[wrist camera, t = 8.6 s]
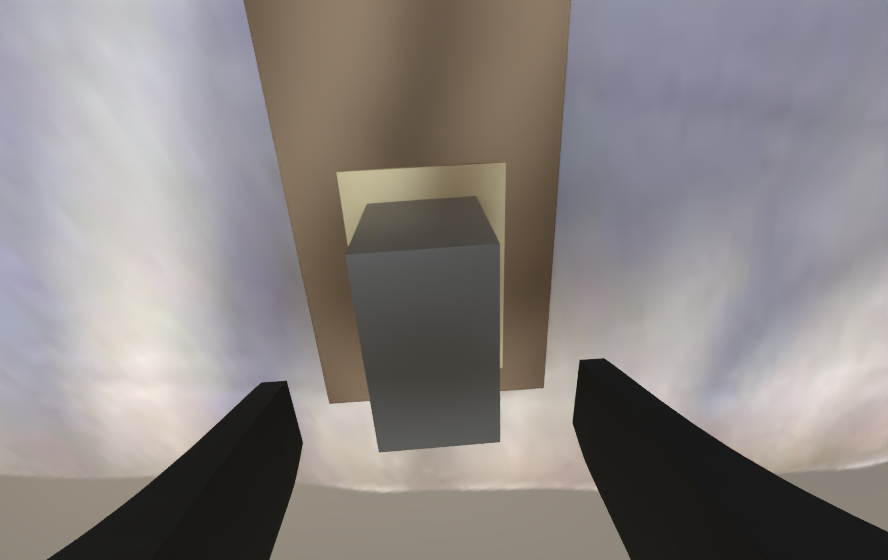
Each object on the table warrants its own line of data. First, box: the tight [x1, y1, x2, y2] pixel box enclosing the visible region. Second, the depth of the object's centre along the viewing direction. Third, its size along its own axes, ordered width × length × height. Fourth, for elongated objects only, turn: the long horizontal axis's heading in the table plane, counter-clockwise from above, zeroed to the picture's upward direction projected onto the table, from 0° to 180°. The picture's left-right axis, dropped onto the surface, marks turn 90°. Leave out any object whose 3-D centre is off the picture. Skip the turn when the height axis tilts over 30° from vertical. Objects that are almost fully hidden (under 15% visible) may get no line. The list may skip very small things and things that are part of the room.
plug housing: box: [345, 196, 500, 452], centre depth 15 cm, size 4×7×5 cm, turn 3°
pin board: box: [244, 0, 571, 404], centre depth 15 cm, size 10×20×3 cm, turn 3°
